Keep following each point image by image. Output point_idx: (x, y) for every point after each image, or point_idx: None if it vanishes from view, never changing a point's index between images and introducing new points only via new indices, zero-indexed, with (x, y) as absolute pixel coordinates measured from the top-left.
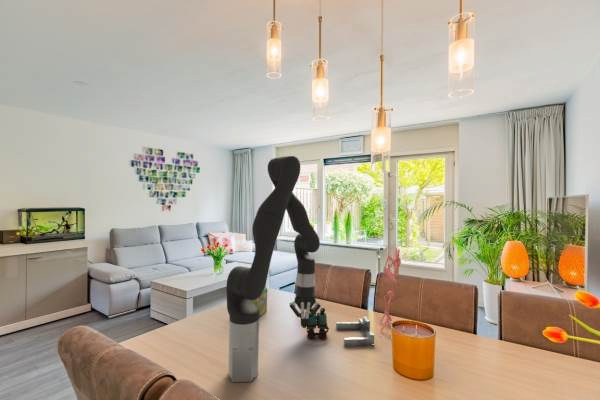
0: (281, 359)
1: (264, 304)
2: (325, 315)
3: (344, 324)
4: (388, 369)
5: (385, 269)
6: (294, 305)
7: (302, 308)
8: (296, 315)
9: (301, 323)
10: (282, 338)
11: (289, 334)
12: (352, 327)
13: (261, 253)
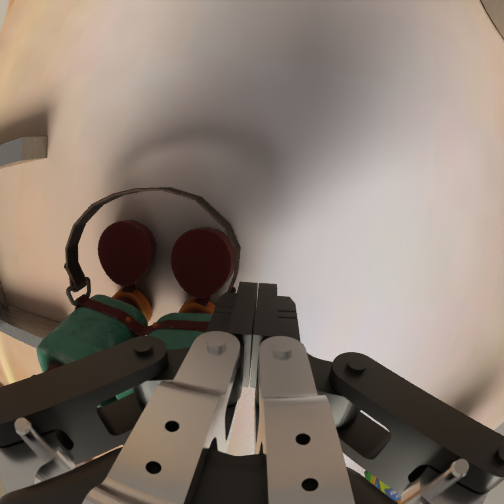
0: (423, 29)
1: (385, 488)
2: (38, 348)
3: (31, 330)
4: (11, 12)
5: None
6: (443, 493)
7: (311, 472)
8: (384, 367)
9: (291, 313)
10: (403, 265)
11: (349, 313)
12: (18, 314)
13: None
